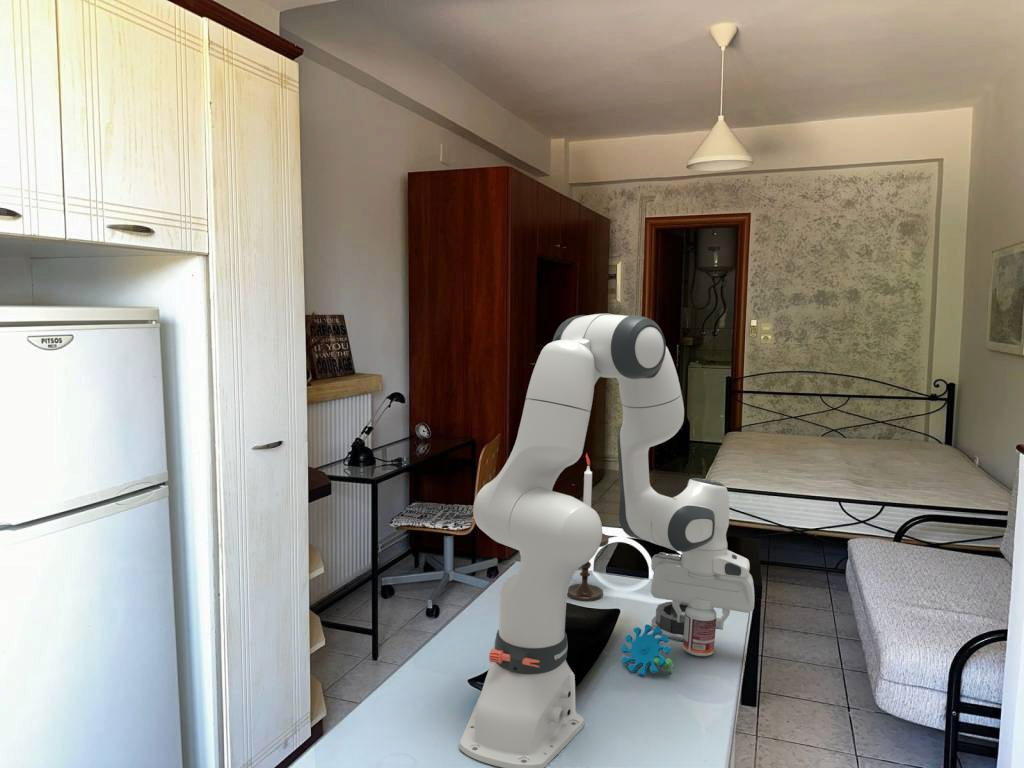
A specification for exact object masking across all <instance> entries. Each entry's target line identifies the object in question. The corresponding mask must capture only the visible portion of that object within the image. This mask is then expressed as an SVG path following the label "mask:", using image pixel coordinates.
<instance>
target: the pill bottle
mask: <svg viewBox="0 0 1024 768" xmlns="http://www.w3.org/2000/svg"><path fill="white" fill-rule="evenodd" d="M688 604H689V606H687V608H686V610H685V623H684V638H683V642H682V647H683V649H684V650H685V652H687V653H688V654H690V655H693V656H698V657H708V656H711V655H712V654H714V651H715V643H716V630H717V629H715V626H716V618H717V612H716V610H715V607H711V606H710V601H707V600H701V599H695V598H691V603H688Z"/></svg>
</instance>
